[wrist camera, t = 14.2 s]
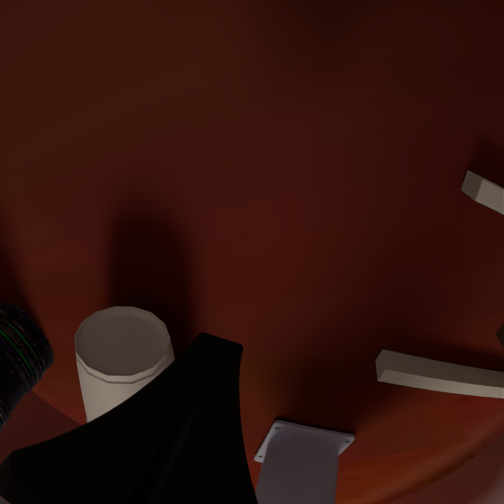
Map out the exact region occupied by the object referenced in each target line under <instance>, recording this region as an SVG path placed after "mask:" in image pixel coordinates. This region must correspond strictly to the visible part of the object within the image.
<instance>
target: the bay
mask: <svg viewBox="0 0 504 504" xmlns="http://www.w3.org/2000/svg"><path fill="white" fill-rule="evenodd" d="M461 190H462V191H463V192H465V193H466V194H467V195H468V196H470V197H471V198H472V199H473V200H475V201H477V202H479V203H481V204H483V205H485V206H487V207H489V208H492V209H494V210H496V211H498V212H500V213H502V214H504V188H502V187H500V186H499V185H497V184H495V183H493V182H491V181H489V180H487V179H485V178H483V177H481V176H479V175H477V174H475V173H473V172H471V171H469V170H468V171H467V174H466V177H465V179H464V182H463V185H462V188H461ZM375 362H376V371H377V381H382V382H387V383H392V384H398V385H404V386H410V387H416V388H422V389H429V390H435V391H442V392H450V393H458V394H466V395H475V396H485V397H496V398H504V372H499V371H493V370H487V369H481V368H475V367H469V366H463V365H458V364H452V363H447V362H442V361H437V360H432V359H427V358H422V357H417V356H412V355H407V354H403V353H398V352H393V351H389V350H384V349H382V351H381V352H380V354H379V356H378V357H377V359H376V360H375Z"/></svg>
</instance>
